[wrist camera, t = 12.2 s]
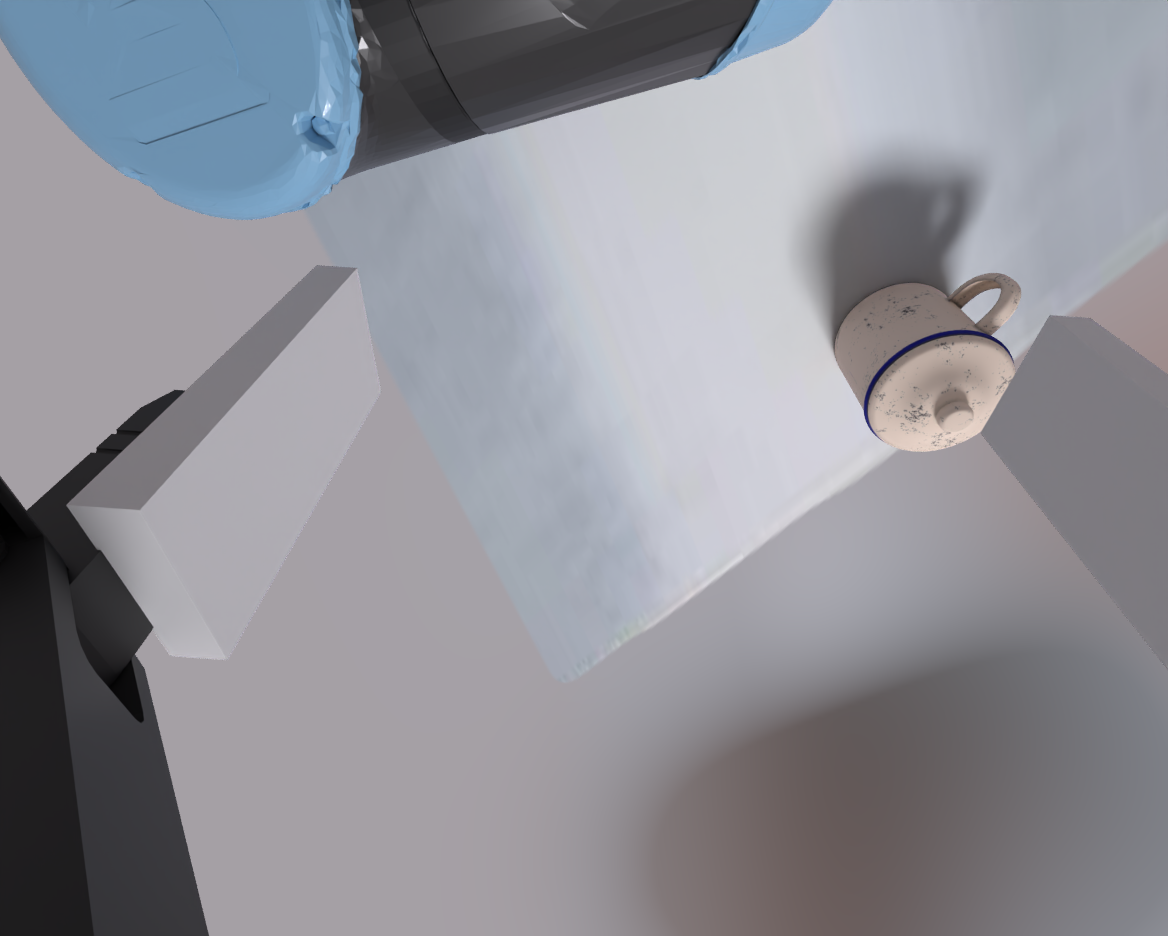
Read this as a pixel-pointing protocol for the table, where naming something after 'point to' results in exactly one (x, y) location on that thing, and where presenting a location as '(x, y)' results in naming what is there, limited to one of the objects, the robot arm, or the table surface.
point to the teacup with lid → (927, 361)
